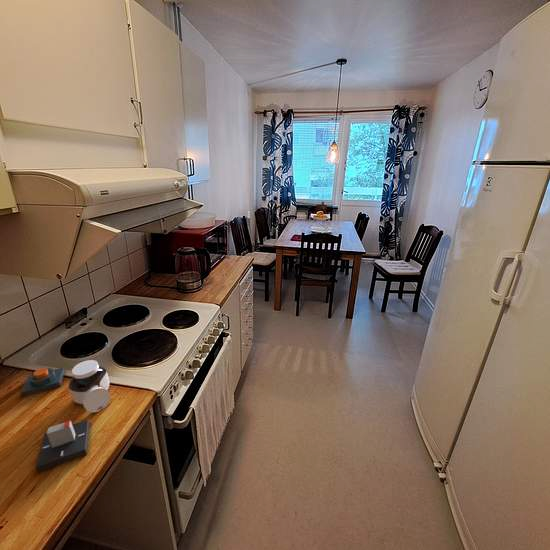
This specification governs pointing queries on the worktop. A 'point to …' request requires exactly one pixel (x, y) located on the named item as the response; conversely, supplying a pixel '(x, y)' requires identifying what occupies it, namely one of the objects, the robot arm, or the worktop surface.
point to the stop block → (43, 382)
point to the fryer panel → (64, 448)
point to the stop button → (41, 373)
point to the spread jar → (90, 385)
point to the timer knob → (61, 434)
